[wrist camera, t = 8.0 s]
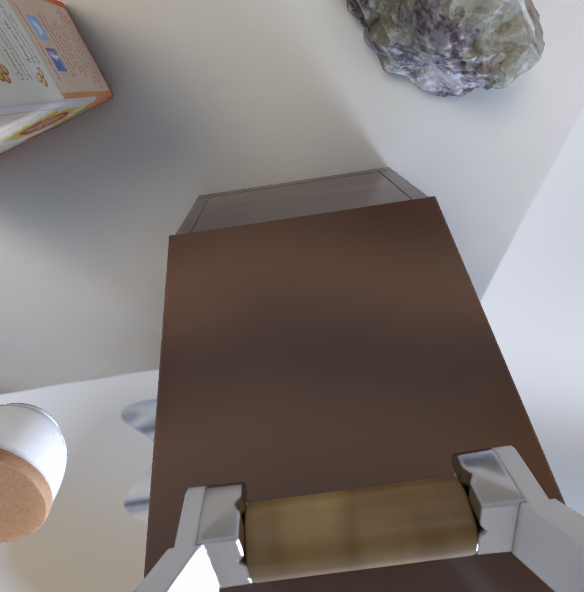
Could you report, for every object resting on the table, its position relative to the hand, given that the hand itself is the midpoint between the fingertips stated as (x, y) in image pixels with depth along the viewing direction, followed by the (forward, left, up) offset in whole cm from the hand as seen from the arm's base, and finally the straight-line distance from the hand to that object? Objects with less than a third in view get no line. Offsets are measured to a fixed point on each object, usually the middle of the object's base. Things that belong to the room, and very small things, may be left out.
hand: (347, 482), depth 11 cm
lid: (0, -1, -7) cm, 7 cm away
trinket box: (-28, -16, -23) cm, 40 cm away
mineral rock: (+9, +13, -23) cm, 28 cm away
